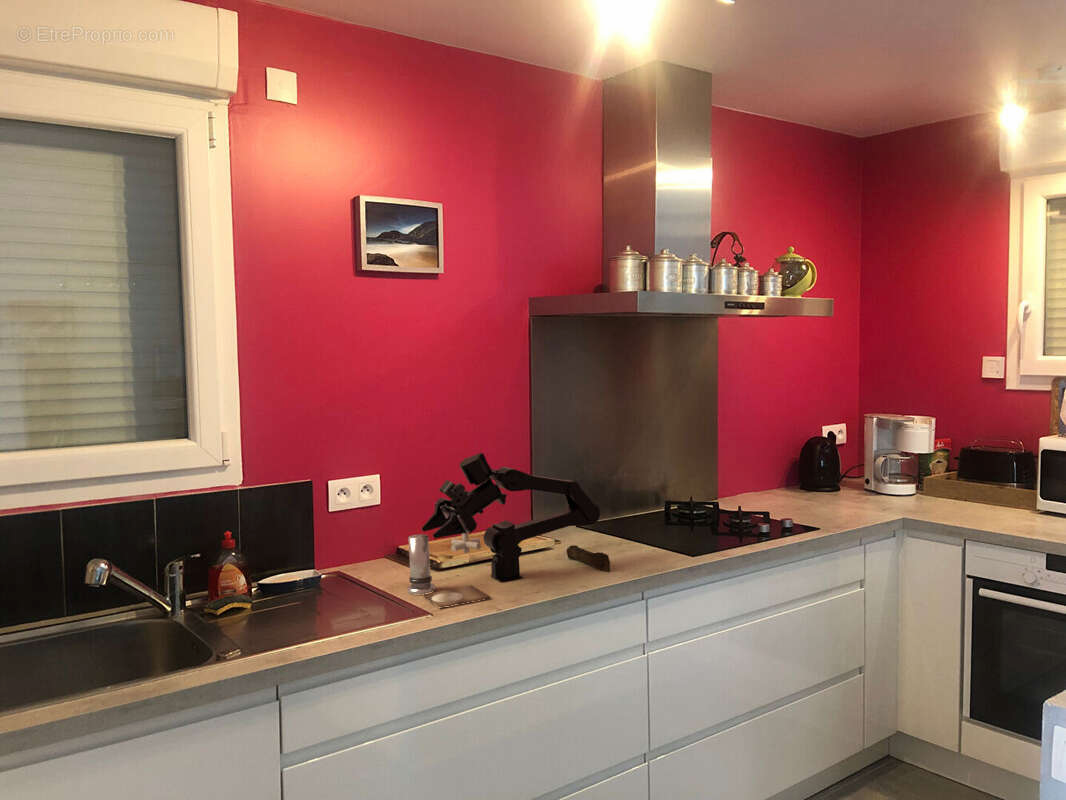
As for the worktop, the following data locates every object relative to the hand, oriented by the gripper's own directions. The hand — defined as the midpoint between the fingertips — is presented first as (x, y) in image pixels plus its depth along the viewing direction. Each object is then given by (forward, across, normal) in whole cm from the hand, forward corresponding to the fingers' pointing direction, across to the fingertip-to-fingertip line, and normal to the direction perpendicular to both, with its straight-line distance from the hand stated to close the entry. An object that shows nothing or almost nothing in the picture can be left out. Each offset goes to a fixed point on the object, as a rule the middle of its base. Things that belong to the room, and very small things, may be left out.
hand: (427, 533), depth 216 cm
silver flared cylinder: (+9, -1, +12) cm, 15 cm away
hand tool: (-34, +1, +34) cm, 48 cm away
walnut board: (+4, +10, +15) cm, 18 cm away
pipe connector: (-9, -22, +21) cm, 32 cm away
